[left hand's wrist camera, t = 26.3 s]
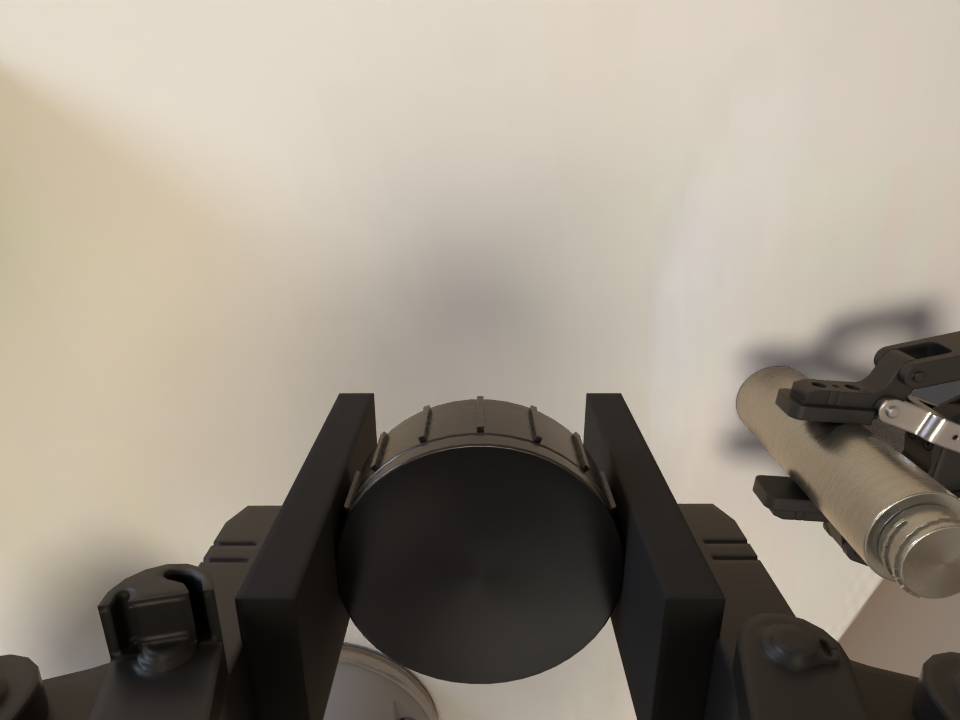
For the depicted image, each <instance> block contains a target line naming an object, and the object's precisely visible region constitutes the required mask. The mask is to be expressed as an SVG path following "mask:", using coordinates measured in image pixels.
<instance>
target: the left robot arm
mask: <svg viewBox="0 0 960 720" xmlns="http://www.w3.org/2000/svg"><path fill="white" fill-rule="evenodd" d="M376 445H377V436H376V420H375V404H374V393H339V395H338V397H337V399H336V401H335V403H334V405H333V407H332V409H331V411H330V413H329V415H328V417H327V419H326V421H325V423H324V425H323V427H322V429H321V431H320V433H319V435H318V437H317V439H316V440H315V442H314V444H313V446H312V448H311V450H310V452H309V454H308V456H307V458H306V460H305V462H304V464H303V466H302V468H301V470H300V472H299V474H298V476H297V478H296V480H295V482H294V484H293V486H292V487H291V489H290V491H289V493H288V495H287V497H286V499H285V501H284V503H283V505H282V506H247V507H246V508H244V509H243V510H242V511H241V512H239V513H238V514H237V515H235V516H234V517H233V518H231V519H230V520H229V521H227V522H226V523H225V525H224V526H223V528H222V530H221V531H220V533H219V534H218V536H217V538H216V539H215V541H214V545H213V546H211V547H210V549H209V550H208V552H207V554H206V555H205V557H204V560H203V562H201V563H200V565H199V566H198V567H197V566H193V565H190V564H167V565H163V566H159V567H155V568H151V569H146V570H144V571H142V572H140V573H138V574H135V575H133V576H131V577H129V578H127V579H125V580H123V581H122V582H121V583H119V584H118V585H117V586H116V587H114V588H113V589H112V590H110V591H109V592H108V593H107V594H106V596H105V597H104V598H103V600H102V601H101V603H100V604H99V605H98V610H99V614H100V618H101V622H102V626H103V630H104V634H105V638H106V642H107V646H108V650H109V653H110V657H111V661H110V663H108V664H105V665H101V666H98V667H95V668H92V669H88V670H84V671H80V672H76V673H71V674H67V675H63V676H59V677H55V678H50V679H46V680H42V678H41V675H40V672H39V668H38V666H37V665H36V664H35V663H34V662H32V661H31V660H30V659H29V658H27V657H22V656H16V655H4V656H0V720H438V717H437V713H436V710H435V707H434V705H433V702H432V700H431V699H430V697H429V695H428V694H427V692H426V691H425V689H424V688H423V687H422V686H421V684H420V683H419V682H418V681H417V680H416V679H415V678H414V677H413V676H412V675H411V674H410V673H408V672H407V671H406V670H404V669H403V668H402V667H400V666H399V665H397V664H396V663H394V662H392V661H390V660H388V659H387V658H385V657H382V656H380V655H378V654H375V653H373V652H370V651H367V650H364V649H360V648H356V647H351V646H345V645H343V642H344V638H345V634H346V630H347V626H348V622H349V619H350V616H349V614H348V613H347V611H346V609H345V606H344V604H343V602H342V599H341V597H340V593H339V589H338V583H337V572H336V561H335V552H336V545H337V541H338V537H339V532H340V530H341V527H342V524H343V521H344V518H345V515H346V513H345V512H342V508H343V506H344V503H345V500H346V497H347V494H348V491H349V488H350V486H351V483H352V480H353V477H354V474H355V472H356V471H359V472H361V469H362V467H363V465H364V463H365V462H366V460H367V458H368V456H369V455H370V453H371V452H372V450H373V449H374V448H375V447H376ZM583 446H584V447H585V448H586V449H587V451H588V452H589V453H590V455H591V456H592V458H593V460H594V462H595V463H596V465H597V467H598V470H599V472H602V471H604V472H605V475H606V477H607V480H608V483H609V486H610V489H611V491H612V494H613V497H614V500H615V503H616V506H617V508H618V512H616V513H614V515H615V518H616V521H617V524H618V527H619V530H620V533H621V537H622V541H623V545H624V552H625V565H624V576H623V585H622V589H621V593H620V597H619V599H618V601H617V604H616V606H615V609H614V611H613V613H612V614H611V616H610V617H611V621H612V625H613V629H614V632H615V636H616V640H617V644H618V648H619V652H620V655H621V659H622V663H623V667H624V671H625V675H626V678H627V682H628V686H629V690H630V694H631V698H632V701H633V705H634V709H635V713H636V717H637V720H960V653H955V652H948V653H942V654H936V655H933V656H932V657H930V658H929V659H928V660H927V661H926V662H925V663H924V664H923V667H922V670H921V673H920V677H919V678H917V677H913V676H909V675H904V674H900V673H896V672H892V671H888V670H884V669H879V668H875V667H871V666H867V665H864V664H861V663H858V662H855V661H852V660H850V659H849V658H848V656H847V655H846V653H845V652H844V650H843V648H842V647H841V645H840V644H839V643H838V642H837V641H836V640H835V639H834V638H832V637H831V636H830V635H829V634H828V633H827V632H825V631H824V630H823V629H821V628H819V627H817V626H815V625H813V624H811V623H810V622H808V621H806V620H804V619H800V618H797V617H796V616H795V615H794V613H793V612H792V610H791V609H790V607H789V605H788V604H787V602H786V601H785V599H784V598H783V596H782V594H781V593H780V591H779V590H778V588H777V586H776V585H775V583H774V582H773V580H772V579H771V577H770V575H769V574H768V572H767V571H766V569H765V567H764V566H763V564H762V563H761V561H760V560H758V559H757V555H756V553H755V552H754V550H753V549H752V547H751V545H750V544H747V539H746V537H745V536H744V534H743V533H742V531H741V530H740V528H739V526H738V525H737V523H736V522H735V520H733V519H732V518H731V517H729V516H728V515H727V514H725V513H724V512H723V511H722V510H720V509H719V508H718V507H716V506H715V505H714V504H677V502H676V500H675V498H674V496H673V494H672V493H671V491H670V489H669V487H668V485H667V483H666V481H665V479H664V477H663V475H662V473H661V471H660V469H659V467H658V465H657V463H656V461H655V459H654V457H653V455H652V453H651V451H650V449H649V447H648V446H647V444H646V442H645V440H644V438H643V436H642V434H641V432H640V430H639V428H638V426H637V424H636V422H635V420H634V418H633V416H632V414H631V412H630V410H629V408H628V406H627V404H626V402H625V401H624V399H623V397H622V395H621V393H587V394H586V410H585V426H584V443H583Z"/></svg>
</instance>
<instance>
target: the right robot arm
mask: <svg viewBox="0 0 960 720" xmlns="http://www.w3.org/2000/svg"><path fill="white" fill-rule="evenodd" d="M874 364H875V368H874V369H873V371H872V372H871V373H870V375H869V376H868V377H867V378H865V379H864V380H861V381H859V382H841V381H827V380H826V381H824V380H813V379H802V380H799V381H795V382H793V385H792V389H788V388H780V389H779V390H778V393H777V397H776V401H775V404H776V405H777V406H778V407H779V408H780V409H781V410H782V411H783V412H784V413H785V414H787V415H788V416H789V417H791V418H794V419H797V420H804V421H818V422H832V423H846V424H860V425H871V424H872V420H873V418H874V419H880V420H881V421H882V422H884V423H886V424H889V425H892V426H894V427H897V428H900V429H902V430H905V431H906V434H905V448H904V451H903V452H902V454H903V455H904V456H905V457H907V458H908V459H909V460H910V461H912V462H913V463H914V464H915V465H917V466H918V467H919V468H921V469H922V470H923V471H924V472H926V473H927V474H928V475H929V476H931V477H932V478H933V479H935V480H936V481H937V482H938V483H940V484H941V485H942V486H943V487H945V488H946V489H947V490H949V491H950V492H951V493H952V494H954V495H955V496H956V497H957V498H959V499H960V395H958V396H956V397H954V398H952V399H950V400H948V401H946V402H944V403H942V404H940V405H936V404H934V403H931V402H928V401H926V400H923V399H921V398H918V397H915V396H913V395H910V393H911V392H912V390H913V389H918V388H923V387H928V386H933V385H938V384H943V383H948V382H953V381H958V380H960V331H958V332H954V333H949V334H944V335H939V336H934V337H930V338H925V339H920V340H915V341H910V342H906V343H901V344H896V345H891V346H886V347H883V348H881V349H880V350H879V351H878V352H877V353H876V354H875V357H874ZM753 491H754V493H755V494H756V495H757V497H758V498H759V499H760V501H761V502H762V503H763V505H764V506H765V507H767V508H769V509H770V511H771V512H772V513H773V515H775V516H777V517H779V518H781V519H788V520H793V519H795V520H804V521H819V522H824V523H823V527H824V529H825V530H826V531H827V533H828V534H829V535H830V536H831V537H833V538H834V540H835V541H836V542H837V543H838V544H839V545H840V547H841V548H842V549H843V551H844V553H845V554H846V555H847V556H848V557H849V559H851V560H853V561H855V562H858V563H861V564H864V565H866V566H868V565H867V563H866V562H865V561H864V560H863V559H862V558H861V557H860V555H859V554H858V553H857V552H856V551H855V550H854V549H853V548H852V546H851V545H850V544H849V543H848V542H847V541H846V540H845V538H844V537H843V536H842V535H841V534H840V533H839V532H838V530H837V529H836V528H835V527H834V526H833V525H832V524H831V522H830V521H829V520H828V519H827V518H826V517H825V516H824V514H823V513H822V512H821V511H820V510H819V509H818V508H817V506H816V505H815V504H814V503H813V502H812V501H811V500H810V498H809V497H808V496H807V495H806V494H805V493H804V492H803V490H802V489H801V488H800V487H799V486H798V485H797V484H796V482H795V481H794V480H793V479H792V478H791V477H781V476H766V475H758V476H756V478H755V482H754V486H753Z"/></svg>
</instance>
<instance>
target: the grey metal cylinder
mask: <svg viewBox="0 0 960 720" xmlns="http://www.w3.org/2000/svg"><path fill="white" fill-rule="evenodd" d="M802 379H806V378H805V377H804V376H802V375H801V374H800V373H798V372H797V371H795V370H793V369H791V368H788V367H781V366H776V367H769V368H765V369H763V370H760V371H758V372H756V373H755V374H753V375H752V376H751V377H750V378H748V379H747V381H746V382H745V383H744V384H743V386H742V387H741V389H740V391H739V393H738V397H737V403H736V405H737V412H738V415H739V417H740V419H741V421H742V422H743V423H744V424H745V425H746V427H747V428H748V429H749V430H750V431H751V432H752V433H753V435H754V436H755V437H756V438H757V439H758V440H759V441H760V442H761V444H762V445H763V446H764V447H765V448H766V449H767V450H768V452H769V453H770V454H771V455H772V456H773V457H774V458H775V460H776V461H777V462H778V463H779V464H780V465H781V466H782V468H783V469H784V470H785V471H786V472H787V473H788V474H789V476H790V477H791V478H792V479H793V480H794V481H795V482H796V484H797V485H798V486H799V487H800V488H801V489H802V490H803V492H804V493H805V494H806V495H807V496H808V497H809V498H810V500H811V501H812V502H813V503H814V504H815V505H816V506H817V508H818V509H819V510H820V511H821V512H822V513H823V514H824V516H825V517H826V518H827V519H828V520H829V521H830V522H831V524H832V525H833V526H834V527H835V528H836V529H837V530H838V532H839V533H840V534H841V535H842V536H843V537H844V538H845V540H846V541H847V542H848V543H849V544H850V545H851V546H852V548H853V549H854V550H855V551H856V552H857V553H858V554H859V555H860V557H861V558H862V559H863V560H864V561H865V562H866V563H867V565H868V566H869V567H870V568H871V569H872V570H873V571H874V572H875V573H876V574H878V575H879V576H881V577H883V578H885V579H887V580H891V581H894V582H897V583H898V584H899V585H900V587H901V588H903V589H904V590H905V591H906V592H908V593H909V594H910V595H913V596H916V597H920V596H921V597H925V598H944V597H949V596H952V595H955V594H957V593H960V499H959V498H957V497H956V496H955V495H954V494H952V493H951V492H950V491H949V490H947V489H946V488H945V487H943V486H942V485H941V484H940V483H938V482H937V481H936V480H935V479H933V478H932V477H931V476H929V475H928V474H927V473H926V472H924V471H923V470H922V469H921V468H919V467H918V466H917V465H915V464H914V463H913V462H912V461H910V460H909V459H908V458H907V457H905V456H904V455H903V454H902V453H900V452H899V451H898V450H896V449H895V448H894V447H893V446H891V445H890V444H889V443H888V442H886V441H885V440H884V439H882V438H881V437H880V436H879V435H877V434H876V433H875V432H874V431H872V430H871V429H870V428H868V427H867V426H866V425H860V424H846V423H832V422H818V421H804V420H797V419H794V418H791V417H789V416H788V415H787V414H785V413H784V412H783V411H782V410H781V409H780V408H779V407H778V406H777V405H776V404H775V401H776V397H777V393H778V390H779V389H780V388H788V389H792V385H793V382H795V381H799V380H802Z"/></svg>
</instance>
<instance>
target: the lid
mask: <svg viewBox="0 0 960 720" xmlns="http://www.w3.org/2000/svg"><path fill="white" fill-rule="evenodd" d="M342 512H345V513H346V515H345V518H344V521H343V524H342V527H341V530H340V532H339V537H338V541H337V545H336V552H335V561H336V572H337V583H338V589H339V593H340V597H341V599H342V602H343V604H344V606H345V609H346V611H347V613H348V614H349V616H350V618H351V619H352V621H353V623H354V624H355V626H356V627H357V628H358V629H359V631H360V632H361V633H362V634H363V635H364V637H365V638H366V639H367V640H368V641H369V642H370V643H372V644H373V645H374V646H375V647H376V648H377V649H378V650H380V651H381V652H382V653H384V654H385V655H386V656H388V657H389V658H390V659H392V660H394V661H396V662H397V663H399V664H401V665H403V666H404V667H407V668H409V669H411V670H413V671H416V672H418V673H420V674H423V675H427V676H430V677H433V678H436V679H441V680H446V681H451V682H457V683H467V684H493V683H503V682H509V681H514V680H519V679H524V678H527V677H530V676H533V675H536V674H540V673H542V672H544V671H546V670H549V669H551V668H553V667H556V666H557V665H559V664H561V663H563V662H564V661H566V660H568V659H569V658H571V657H572V656H574V655H575V654H576V653H578V652H579V651H580V650H582V649H583V648H584V647H585V646H586V645H587V644H588V643H589V642H590V641H592V640H593V639H594V638H595V637H596V635H597V634H598V633H599V632H600V630H601V629H602V628H603V627H604V626H605V624H606V622H607V621H608V619H609V618H610V616H611V614H612V613H613V611H614V609H615V606H616V604H617V601H618V599H619V597H620V593H621V589H622V585H623V576H624V565H625V552H624V545H623V541H622V537H621V533H620V530H619V527H618V524H617V521H616V518H615V515H614V513H616V512H618V508H617V506H616V503H615V500H614V497H613V494H612V491H611V489H610V486H609V483H608V480H607V477H606V475H605V472H604V471H602V472H599V470H598V467H597V465H596V463H595V462H594V460H593V458H592V456H591V455H590V453H589V452H588V451H587V449H586V448H585V447H584V446H583V444H582V441H581V438H580V435H579V434H578V433H577V432H575V433H574V434H572V433H571V432H570V431H569V430H568V429H566V428H565V427H564V426H562V425H561V424H559V423H558V422H557V421H555V420H553V419H552V418H550V417H548V416H546V415H544V414H542V413H540V412H538V411H537V407H535V406H532V405H531V407H530V408H528V407H525V406H522V405H518V404H514V403H510V402H505V401H497V400H483V396H477V400H463V401H455V402H450V403H446V404H442V405H438V406H435V407H432V408H430V406H429V405H428V406H425V407H424V409H423V411H422V412H420V413H418V414H416V415H414V416H412V417H410V418H408V419H406V420H405V421H403V422H402V423H401V424H399V425H398V426H396V427H395V428H394V429H392V430H391V431H390V432H389V433H388V434H387V433H385V432H383V433H382V434H381V435H380V438H379V442H378V444H377V445H376V447H375V448H374V449H373V450H372V452H371V453H370V455H369V456H368V458H367V460H366V462H365V463H364V465H363V467H362V469H361V472H359V471H356V472H355V474H354V477H353V480H352V483H351V486H350V488H349V491H348V494H347V497H346V500H345V503H344V506H343V508H342Z"/></svg>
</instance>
